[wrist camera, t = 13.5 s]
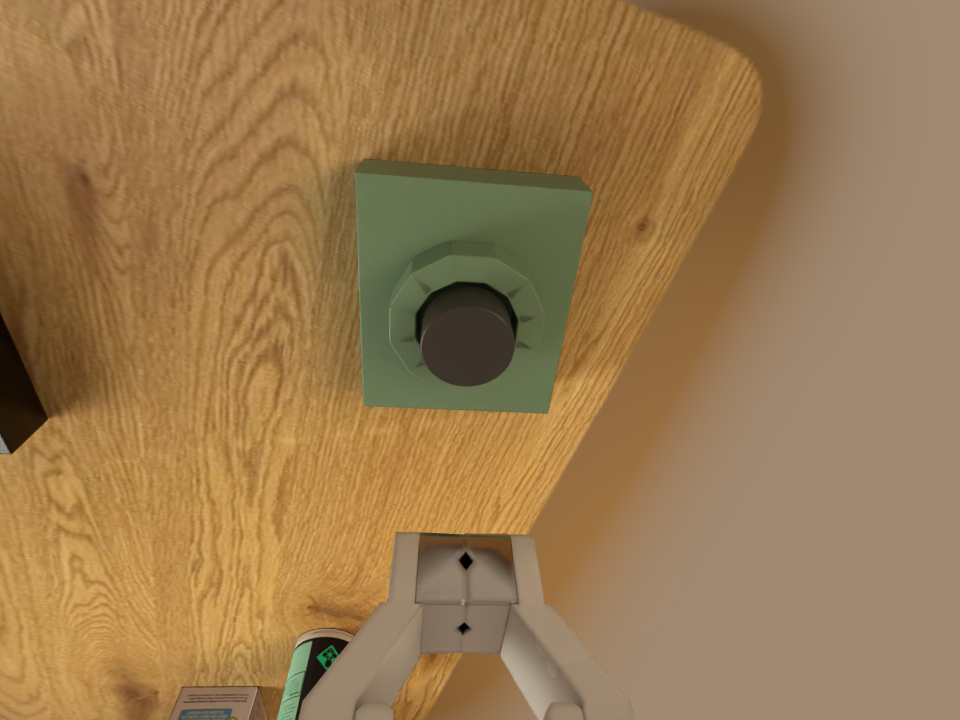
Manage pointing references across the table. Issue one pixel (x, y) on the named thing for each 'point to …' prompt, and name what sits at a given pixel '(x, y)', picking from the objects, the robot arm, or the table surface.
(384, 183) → the button base
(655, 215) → the table surface
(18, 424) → the panel
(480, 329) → the button
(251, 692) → the juice carton
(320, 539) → the table surface
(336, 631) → the spray can
